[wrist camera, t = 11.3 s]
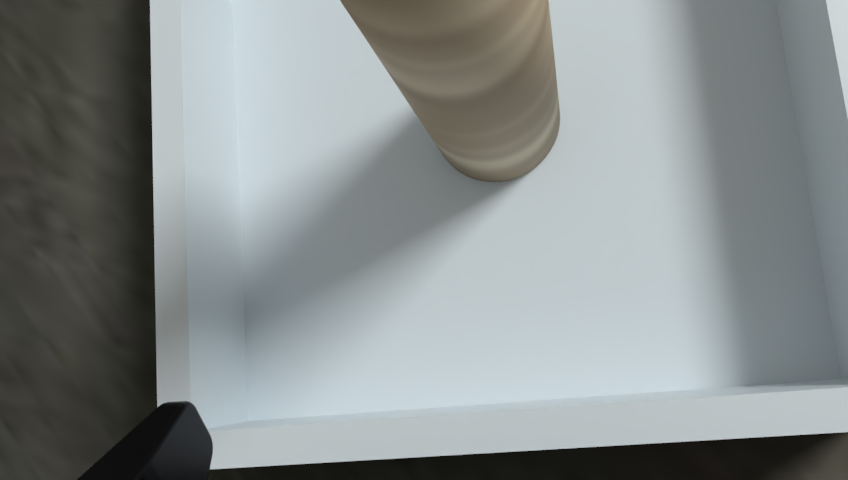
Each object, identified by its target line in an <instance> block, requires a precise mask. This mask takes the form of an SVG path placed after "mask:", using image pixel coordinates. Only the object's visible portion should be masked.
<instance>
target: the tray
mask: <svg viewBox="0 0 848 480" xmlns="http://www.w3.org/2000/svg"><path fill="white" fill-rule="evenodd" d="M549 8H550V18H551V28H552V38H553V48H554V58H555V68H556V78H557V88H558V98H559V108H560V127H559V132H558V136H557V138H556V141H555V143H554V145H553V147H552V149H551V151H550V152H549V153H548V155H547V156H546V158H545V159H544V160H543V161H542V162H541V163H540V164H539V165H538V166H536V167H535V168H534V169H532V170H531V171H529V172H528V173H526V174H524V175H522V176H520V177H517V178H514V179H511V180H507V181H501V182H487V181H481V180H476V179H473V178H470V177H468V176H466V175H464V174H462V173H461V172H459V171H458V170H456V169H455V168H454V167H453V166H452V165H451V164H450V163H449V162H448V161H447V160H446V159H445V157H444V156H443V154H442V153H441V151H440V150H439V148H438V147H437V145H436V144H435V142H434V141H433V139H432V138H431V136H430V135H429V133H428V132H427V130H426V129H425V127H424V126H423V124H422V123H421V121H420V120H419V118H418V117H417V115H416V114H415V112H414V111H413V109H412V108H411V106H410V105H409V103H408V102H407V100H406V99H405V97H404V96H403V94H402V93H401V91H400V90H399V88H398V87H397V85H396V84H395V82H394V81H393V79H392V78H391V76H390V75H389V73H388V72H387V70H386V69H385V67H384V66H383V64H382V63H381V61H380V60H379V58H378V57H377V55H376V54H375V52H374V51H373V49H372V48H371V46H370V45H369V43H368V42H367V40H366V39H365V37H364V36H363V34H362V33H361V31H360V30H359V28H358V27H357V25H356V24H355V22H354V21H353V19H352V18H351V16H350V15H349V13H348V12H347V10H346V9H345V7H344V6H343V4H342V3H341V1H340V0H150V38H151V93H152V147H153V202H154V257H155V312H156V366H157V407H158V406H160V405H161V404H163V403H166V402H178V401H189V402H191V403H192V404H194V405H195V407H196V409H197V411H198V413H199V414H200V416H201V418H202V420H203V422H204V424H205V426H206V428H207V430H208V432H209V433H210V435H211V438H212V442H213V454H212V460H211V465H210V469H227V468H244V467H261V466H278V465H295V464H312V463H329V462H346V461H363V460H380V459H397V458H414V457H432V456H449V455H466V454H483V453H500V452H517V451H534V450H551V449H568V448H585V447H602V446H619V445H636V444H654V443H671V442H688V441H705V440H722V439H739V438H756V437H773V436H790V435H807V434H824V433H841V432H848V0H549Z"/></svg>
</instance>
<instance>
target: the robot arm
mask: <svg viewBox="0 0 848 480" xmlns="http://www.w3.org/2000/svg"><path fill="white" fill-rule="evenodd" d="M212 454H213V442H212V438H211V435H210V433H209V432H208V430H207V428H206V426H205V424H204V422H203V420H202V418H201V416H200V414H199V413H198V411H197V409H196V407H195V405H194V404H192V403H191V402H189V401H178V402H166V403H163V404H161V405H160V406H158V407H157V408H156V409H155V410H154V411H153V412H152V413H150V414H149V415H148V416H147V417H146V418H145V419H144V420H143V421H142V422H140V423H139V424H138V425H137V426H136V427H135V428H134V429H133V430H132V431H130V432H129V433H128V434H127V435H126V436H125V437H124V438H123V439H122V440H121V441H119V442H118V443H117V444H116V445H115V446H114V447H113V448H112V449H111V450H109V451H108V452H107V453H106V454H105V455H104V456H103V457H102V458H101V459H99V460H98V461H97V462H96V463H95V464H94V465H93V466H92V467H91V468H89V469H88V470H87V471H86V472H85V473H84V474H83V475H82V476H81V477H80V478H78V479H77V480H208V475H209V470H210V465H211V460H212Z"/></svg>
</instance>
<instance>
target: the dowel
mask: <svg viewBox="0 0 848 480" xmlns="http://www.w3.org/2000/svg"><path fill="white" fill-rule="evenodd" d="M340 1H341V3H342V4H343V6H344V7H345V9H346V10H347V12H348V13H349V15H350V16H351V18H352V19H353V21H354V22H355V24H356V25H357V27H358V28H359V30H360V31H361V33H362V34H363V36H364V37H365V39H366V40H367V42H368V43H369V45H370V46H371V48H372V49H373V51H374V52H375V54H376V55H377V57H378V58H379V60H380V61H381V63H382V64H383V66H384V67H385V69H386V70H387V72H388V73H389V75H390V76H391V78H392V79H393V81H394V82H395V84H396V85H397V87H398V88H399V90H400V91H401V93H402V94H403V96H404V97H405V99H406V100H407V102H408V103H409V105H410V106H411V108H412V109H413V111H414V112H415V114H416V115H417V117H418V118H419V120H420V121H421V123H422V124H423V126H424V127H425V129H426V130H427V132H428V133H429V135H430V136H431V138H432V139H433V141H434V142H435V144H436V145H437V147H438V148H439V150H440V151H441V153H442V154H443V156H444V157H445V159H446V160H447V161H448V162H449V163H450V164H451V165H452V166H453V167H454V168H455V169H456V170H458V171H459V172H461V173H462V174H464V175H466V176H468V177H470V178H473V179H476V180H481V181H487V182H501V181H507V180H511V179H514V178H517V177H520V176H522V175H524V174H526V173H528V172H529V171H531V170H532V169H534V168H535V167H536V166H538V165H539V164H540V163H541V162H542V161H543V160H544V159H545V158H546V156H547V155H548V153H549V152H550V151H551V149H552V147H553V145H554V143H555V141H556V138H557V136H558V132H559V127H560V108H559V98H558V88H557V78H556V68H555V58H554V48H553V38H552V28H551V18H550V8H549V0H340Z"/></svg>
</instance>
